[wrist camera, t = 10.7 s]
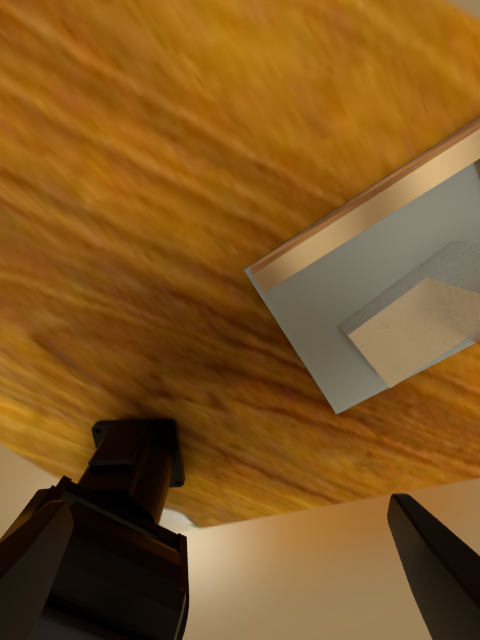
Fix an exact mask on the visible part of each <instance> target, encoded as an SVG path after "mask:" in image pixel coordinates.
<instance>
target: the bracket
mask: <svg viewBox="0 0 480 640" xmlns="http://www.w3.org/2000/svg"><path fill="white" fill-rule="evenodd" d="M338 326H339V327H340V328H341V330H342V331H343V332H344V333H345V335H346V336H347V337H348V338H349V340H350V341H351V342H352V343H353V344H354V346H355V347H356V348H357V349H358V351H359V352H360V353H361V354H362V356H363V357H364V358H365V359H366V361H367V362H368V363H369V364H370V366H371V367H372V368H373V369H374V371H375V372H376V373H377V374H378V375H379V377H380V378H381V379H382V380H383V381H384V382H385V383H386V384H387V385H388V387H389V388H392V387H393V386H395V385H396V384H398V383H399V382H401V381H402V380H404V379H405V378H407V377H408V376H410V375H411V374H413V373H414V372H416V371H417V370H419V369H420V368H422V367H423V366H425V365H426V364H428V363H429V362H431V361H432V360H434V359H435V358H437V357H438V356H440V355H441V354H443V353H444V352H446V351H448V350H449V349H451V348H452V347H454V346H455V345H457V344H458V343H460V342H461V341H463V340H464V339H466V338H467V339H469V340H471V341H473V342H475V343H477V344H479V345H480V243H470V242H459V241H451V242H450V243H448V244H447V245H446V246H444V247H443V248H442V249H440V250H439V251H438V252H436V253H435V254H434V255H432V256H431V257H430V258H428V259H427V260H426V261H424V262H423V263H422V264H420V265H419V266H418V267H416V268H415V269H413V270H412V271H411V272H409V273H408V274H407V275H405V276H404V277H403V278H401V279H400V280H399V281H397V282H396V283H395V284H393V285H392V286H391V287H389V288H388V289H387V290H385V291H384V292H383V293H381V294H380V295H379V296H377V297H376V298H375V299H373V300H372V301H371V302H369V303H368V304H367V305H365V306H364V307H363V308H361V309H360V310H358V311H357V312H356V313H354V314H353V315H352V316H350V317H349V318H348V319H346V320H345V321H344V322H342V323H341V324H340V325H338Z"/></svg>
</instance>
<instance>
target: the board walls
mask: <svg viewBox="0 0 480 640" xmlns="http://www.w3.org/2000/svg"><path fill="white" fill-rule="evenodd" d="M472 163H474V166H475V168H476V171H477V174H478V177H479V180H480V118H478V119H477V120H475V121H474V122H472V123H471V124H469V125H468V126H466V127H465V128H463V129H462V130H460V131H458V132H457V133H455V134H454V135H452V136H451V137H449V138H448V139H446V140H445V141H443V142H441V143H440V144H438V145H437V146H435V147H434V148H432V149H431V150H429V151H428V152H426V153H424V154H423V155H421V156H420V157H418V158H417V159H415V160H414V161H412V162H411V163H409V164H408V165H406V166H404V167H403V168H401V169H400V170H398V171H397V172H395V173H394V174H392V175H391V176H389V177H387V178H386V179H384V180H383V181H381V182H380V183H378V184H377V185H375V186H374V187H372V188H371V189H369V190H367V191H366V192H364V193H363V194H361V195H360V196H358V197H357V198H355V199H354V200H352V201H350V202H349V203H347V204H346V205H344V206H343V207H341V208H340V209H338V210H337V211H335V212H334V213H332V214H330V215H329V216H327V217H326V218H324V219H323V220H321V221H320V222H318V223H317V224H315V225H313V226H312V227H310V228H309V229H307V230H306V231H304V232H303V233H301V234H300V235H298V236H296V237H295V238H293V239H292V240H290V241H289V242H287V243H286V244H284V245H283V246H281V247H280V248H278V249H276V250H275V251H273V252H272V253H270V254H269V255H267V256H266V257H264V258H263V259H261V260H259V261H258V262H256V263H255V264H253V265H252V266H251V270H252V274H253V276H254V277H255V279H256V280H257V282H258V284H259V285H260V287H261V288H262V290H263V291H264V293H265V292H267V291H268V290H270V289H271V288H273V287H275V286H276V285H278V284H279V283H281V282H283V281H284V280H286V279H287V278H289V277H291V276H292V275H294V274H295V273H297V272H299V271H300V270H302V269H303V268H305V267H307V266H308V265H310V264H311V263H313V262H315V261H316V260H318V259H319V258H321V257H323V256H324V255H326V254H327V253H329V252H331V251H332V250H334V249H335V248H337V247H339V246H340V245H342V244H343V243H345V242H347V241H348V240H350V239H352V238H353V237H355V236H356V235H358V234H360V233H361V232H363V231H364V230H366V229H368V228H369V227H371V226H372V225H374V224H376V223H377V222H379V221H380V220H382V219H384V218H385V217H387V216H388V215H390V214H392V213H393V212H395V211H396V210H398V209H400V208H401V207H403V206H404V205H406V204H408V203H409V202H411V201H412V200H414V199H416V198H417V197H419V196H420V195H422V194H424V193H425V192H427V191H428V190H430V189H432V188H433V187H435V186H436V185H438V184H440V183H441V182H443V181H444V180H446V179H448V178H449V177H451V176H453V175H454V174H456V173H457V172H459V171H461V170H462V169H464V168H465V167H467V166H469V165H470V164H472Z"/></svg>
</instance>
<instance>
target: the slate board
mask: <svg viewBox="0 0 480 640" xmlns="http://www.w3.org/2000/svg"><path fill="white" fill-rule="evenodd" d="M478 118H480V116H479V117H478ZM478 118H476V119H475V120H477V119H478ZM475 120H473V121H471V122H470V123H468V124H467V125H465V126H464V127H462V128H461V129H459V130H458V131H460V130H462V129H463V128H465V127H466V126H468V125H469V124H471V123H472V122H474V121H475ZM458 131H456V132H455V133H457V132H458ZM455 133H453V134H451V135H450V136H448V137H447V138H445V139H444V140H442V141H441V142H443V141H445V140H446V139H448V138H449V137H451V136H452V135H454V134H455ZM441 142H439V143H438V144H440V143H441ZM438 144H436V145H435V146H437V145H438ZM435 146H433V147H431V148H430V149H428V150H427V151H425V152H424V153H426V152H428V151H429V150H431V149H432V148H434V147H435ZM424 153H422V154H421V155H423V154H424ZM421 155H419V156H418V157H420V156H421ZM418 157H416V158H415V159H417V158H418ZM415 159H413V160H411V161H410V162H408V163H407V164H405V165H404V166H406V165H408V164H409V163H411V162H412V161H414V160H415ZM404 166H402V167H401V168H403V167H404ZM401 168H399V169H398V170H400V169H401ZM398 170H396V171H394V172H393V173H391V174H390V175H388V176H387V177H389V176H391V175H392V174H394V173H395V172H397V171H398ZM387 177H385V178H384V179H386V178H387ZM384 179H382V180H381V181H383V180H384ZM381 181H379V182H378V183H380V182H381ZM378 183H376V184H374V185H373V186H371V187H370V188H368V189H367V190H369V189H371V188H372V187H374V186H375V185H377V184H378ZM367 190H365V191H364V192H366V191H367ZM364 192H362V193H361V194H363V193H364ZM361 194H359V195H358V196H360V195H361ZM358 196H356V197H354V198H353V199H351V200H350V201H352V200H354V199H355V198H357V197H358ZM350 201H348V202H347V203H349V202H350ZM347 203H345V204H344V205H346V204H347ZM344 205H342V206H341V207H343V206H344ZM341 207H339V208H338V209H340V208H341ZM338 209H336V210H334V211H333V212H331V213H330V214H332V213H334V212H335V211H337V210H338ZM330 214H328V215H327V216H329V215H330ZM327 216H325V217H324V218H326V217H327ZM324 218H322V219H321V220H323V219H324ZM321 220H319V221H317V222H316V223H314V224H313V225H315V224H317V223H318V222H320V221H321ZM313 225H311V226H310V227H312V226H313ZM310 227H308V228H307V229H309V228H310ZM307 229H305V230H304V231H306V230H307ZM304 231H302V232H301V233H303V232H304ZM301 233H299V234H297V235H296V236H298V235H300V234H301ZM296 236H294V237H293V238H295V237H296ZM293 238H291V239H290V240H292V239H293ZM290 240H288V241H287V242H289V241H290ZM451 241H459V242H470V243H480V180H479V177H478V174H477V171H476V168H475V166H474V163H472V164H470V165H469V166H467V167H465V168H464V169H462V170H461V171H459V172H457V173H456V174H454V175H453V176H451V177H449V178H448V179H446V180H444V181H443V182H441V183H440V184H438V185H436V186H435V187H433V188H432V189H430V190H428V191H427V192H425V193H424V194H422V195H420V196H419V197H417V198H416V199H414V200H412V201H411V202H409V203H408V204H406V205H404V206H403V207H401V208H400V209H398V210H396V211H395V212H393V213H392V214H390V215H388V216H387V217H385V218H384V219H382V220H380V221H379V222H377V223H376V224H374V225H372V226H371V227H369V228H368V229H366V230H364V231H363V232H361V233H360V234H358V235H356V236H355V237H353V238H352V239H350V240H348V241H347V242H345V243H343V244H342V245H340V246H339V247H337V248H335V249H334V250H332V251H331V252H329V253H327V254H326V255H324V256H323V257H321V258H319V259H318V260H316V261H315V262H313V263H311V264H310V265H308V266H307V267H305V268H303V269H302V270H300V271H299V272H297V273H295V274H294V275H292V276H291V277H289V278H287V279H286V280H284V281H283V282H281V283H279V284H278V285H276V286H275V287H273V288H271V289H270V290H268V291H267V292H265V293H264V291H263V290H262V288H261V287H260V285H259V284H258V282H257V280H256V279H255V277H254V276H253V274H252V270H251V266H252V265H253V264H255V263H256V262H258V261H259V260H261V259H263V258H264V257H266V256H267V255H269V254H270V253H272V252H273V251H275V250H276V249H278V248H280V247H281V246H283V245H284V244H286V243H287V242H285V243H284V244H282V245H281V246H279V247H277V248H276V249H274V250H273V251H271V252H270V253H268V254H267V255H265V256H264V257H262V258H261V259H259V260H257V261H256V262H254V263H253V264H251V265H250V266H248V267H247V268H245V269H244V271H245V273H246V274H247V276H248V278H249V279H250V281H251V282H252V284H253V285H254V287H255V288H256V290H257V292H258V293H259V295H260V296H261V298H262V299H263V301H264V302H265V304H266V306H267V307H268V309H269V310H270V312H271V313H272V315H273V316H274V318H275V320H276V321H277V323H278V324H279V326H280V327H281V329H282V330H283V332H284V334H285V335H286V337H287V338H288V340H289V341H290V343H291V344H292V346H293V348H294V349H295V351H296V352H297V354H298V355H299V357H300V358H301V360H302V362H303V363H304V365H305V366H306V368H307V369H308V371H309V372H310V374H311V375H312V377H313V379H314V380H315V382H316V383H317V385H318V386H319V388H320V389H321V391H322V393H323V394H324V396H325V397H326V399H327V400H328V402H329V403H330V405H331V407H332V408H333V410H334V411H335V413H336V414H338V413H340V412H342V411H344V410H346V409H348V408H350V407H352V406H354V405H356V404H358V403H360V402H362V401H364V400H366V399H368V398H370V397H372V396H374V395H376V394H377V393H379V392H381V391H383V390H385V389H387V388H389V387H388V385H387V384H386V383H385V382H384V381H383V380H382V379H381V378H380V377H379V375H378V374H377V373H376V372H375V371H374V369H373V368H372V367H371V366H370V364H369V363H368V362H367V361H366V359H365V358H364V357H363V356H362V354H361V353H360V352H359V351H358V349H357V348H356V347H355V346H354V344H353V343H352V342H351V341H350V340H349V338H348V337H347V336H346V335H345V333H344V332H343V331H342V330H341V328H340V327H339V326H338V325H340V324H341V323H342V322H344V321H345V320H346V319H348V318H349V317H350V316H352V315H353V314H354V313H356V312H357V311H358V310H360V309H361V308H363V307H364V306H365V305H367V304H368V303H369V302H371V301H372V300H373V299H375V298H376V297H377V296H379V295H380V294H381V293H383V292H384V291H385V290H387V289H388V288H389V287H391V286H392V285H393V284H395V283H396V282H397V281H399V280H400V279H401V278H403V277H404V276H405V275H407V274H408V273H409V272H411V271H412V270H413V269H415V268H416V267H418V266H419V265H420V264H422V263H423V262H424V261H426V260H427V259H428V258H430V257H431V256H432V255H434V254H435V253H436V252H438V251H439V250H440V249H442V248H443V247H444V246H446V245H447V244H448V243H450V242H451ZM473 344H475V342H473V341H471V340H469V339H467V338H466V339H464V340H463V341H461V342H460V343H458V344H457V345H455V346H454V347H452V348H451V349H449V350H448V351H446V352H444V353H443V354H441V355H440V356H438V357H437V358H435V359H434V360H432V361H431V362H429V363H428V364H426V365H425V366H423V367H422V368H420V369H419V370H417V371H416V372H414V373H413V374H411V375H410V376H408V377H407V378H409V377H411V376H413V375H414V374H416V373H418V372H420V371H422V370H424V369H426V368H428V367H430V366H432V365H434V364H436V363H438V362H440V361H442V360H444V359H446V358H448V357H450V356H451V355H453V354H455V353H457V352H459V351H461V350H463V349H465V348H467V347H469V346H471V345H473ZM407 378H405V379H407ZM405 379H404V380H405ZM402 381H403V380H402Z"/></svg>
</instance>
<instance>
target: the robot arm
mask: <svg viewBox="0 0 480 640" xmlns="http://www.w3.org/2000/svg"><path fill="white" fill-rule="evenodd" d="M168 425H171V426H172V427H169V426H168ZM98 428H100V429H101V430H99V429H98ZM92 434H93V438H94V442H95V445H96V451H95V452H94V454H93V456H92V457H91V459H90V460H89V462H88V467H87V469H86V470H85V472H84V474H83V475H82V477H81V479H80V480H79V482H78V483H77V484H76V483H74V482H72V481H71V480H72V479H70V478H68V477H66V476H63V477H62V478H61V480H60V481H59V483H58V484H57V485H56V487H55V486H53V485H52V486H51V488H49V489H40V490H38V491H37V492H36V493H35V495H34V496H33V498H32V499H31V500H30V502H29V503H28V504H27V506H26V507H25V508H24V510H23V511H22V512H21V514H20V515H19V516H18V517H17V519H16V520H15V521H14V523H13V524H12V525H11V526H10V528H9V529H8V530H7V531H6V533H5V534H4V535H3V536H2V538H1V539H0V640H182V638H183V635H184V632H185V627H186V622H187V617H188V610H189V581H188V557H187V537H186V536H184V535H182V534H180V533H179V534H176V533H174V532H172V531H170V530H168V529H166V528H164V527H162V526H160V525H159V523H160V519H161V515H162V511H163V508H164V504H165V500H166V496H167V492H168V489H169V488H170V487H181V486H183V485H184V481H185V475H184V468H183V462H182V455H181V448H180V441H179V434H178V427H177V423H176V421H175V420H173V419H154V420H127V421H110V422H97V423H95V425H94V426H93V427H92ZM178 480H180V481H178ZM387 519H388V524H389V527H390V530H391V533H392V536H393V539H394V541H395V545H396V547H397V550H398V553H399V556H400V559H401V562H402V565H403V568H404V571H405V574H406V576H407V580H408V582H409V585H410V588H411V591H412V593H413V596H414V598H415V601H416V603H417V605H418V608H419V610H420V612H421V615H422V617H423V619H424V621H425V624H426V626H427V628H428V630H429V633H430V635H431V637H432V639H433V640H480V556H479V555H478V554H477V553H476V552H474V551H473V550H472V549H471V548H470V547H469V546H468V545H467V544H465V543H464V542H463V541H462V540H461V539H459V538H458V537H457V536H456V535H455V534H454V533H453V532H451V531H450V530H449V529H448V528H447V527H446V526H445V525H443V524H442V523H441V522H440V521H439V520H438V519H437V518H435V517H434V516H433V515H432V514H431V513H429V512H428V511H427V510H426V509H425V508H424V507H423V506H421V505H420V504H419V503H418V502H417V501H416V500H414V499H413V498H412V497H411V496H410V495H408V494H405V493H398V494H392V495H391V498H390V503H389V508H388V513H387Z"/></svg>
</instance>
